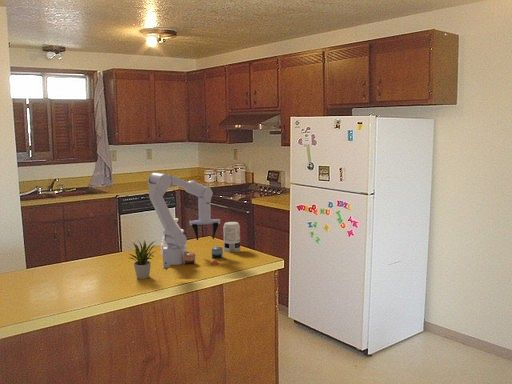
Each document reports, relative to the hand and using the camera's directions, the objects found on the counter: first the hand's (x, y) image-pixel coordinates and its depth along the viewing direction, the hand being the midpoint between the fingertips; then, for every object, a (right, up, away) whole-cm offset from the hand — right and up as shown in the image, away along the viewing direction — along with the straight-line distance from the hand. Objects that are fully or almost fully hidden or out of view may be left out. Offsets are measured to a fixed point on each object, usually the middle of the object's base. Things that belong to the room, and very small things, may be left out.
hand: (205, 239), depth 236 cm
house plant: (-23, -14, -26) cm, 37 cm away
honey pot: (-17, -8, +10) cm, 21 cm away
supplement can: (+12, -8, +11) cm, 18 cm away
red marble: (+6, -10, -13) cm, 17 cm away
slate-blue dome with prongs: (+6, -10, -3) cm, 12 cm away
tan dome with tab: (-6, -11, -12) cm, 18 cm away
